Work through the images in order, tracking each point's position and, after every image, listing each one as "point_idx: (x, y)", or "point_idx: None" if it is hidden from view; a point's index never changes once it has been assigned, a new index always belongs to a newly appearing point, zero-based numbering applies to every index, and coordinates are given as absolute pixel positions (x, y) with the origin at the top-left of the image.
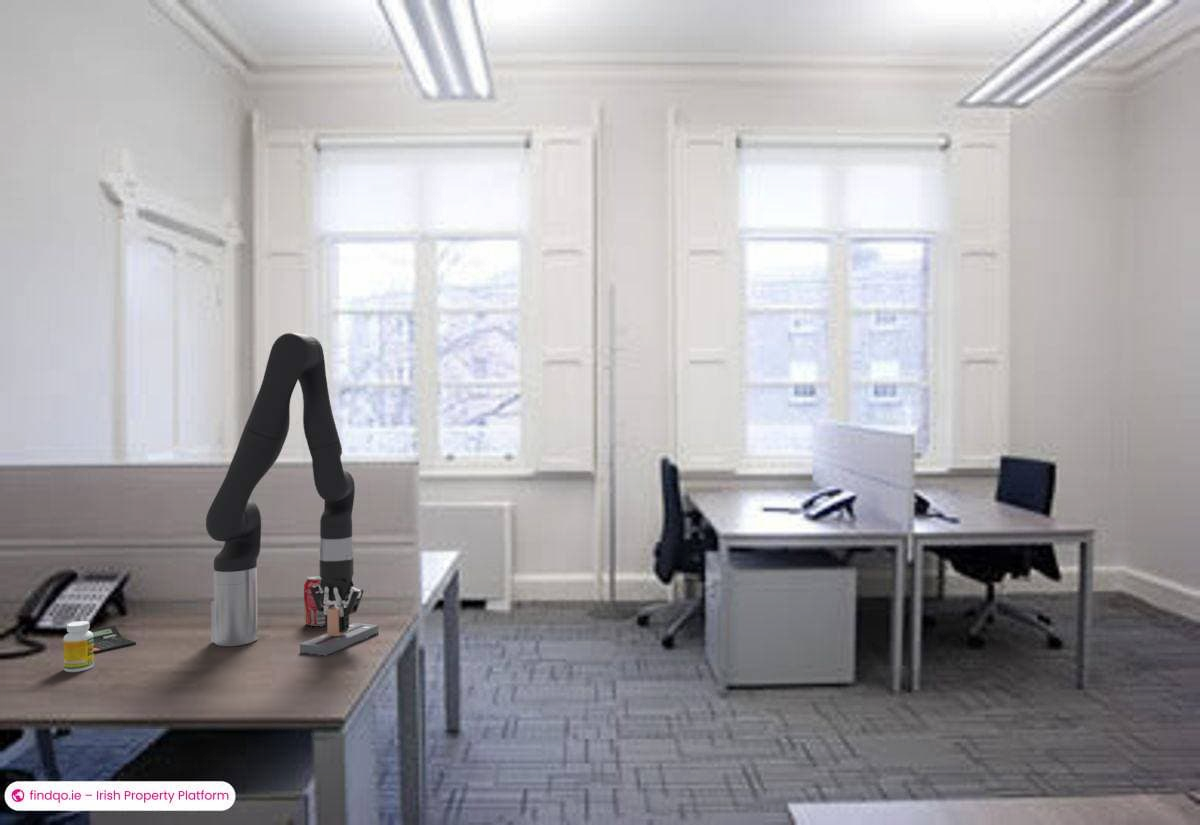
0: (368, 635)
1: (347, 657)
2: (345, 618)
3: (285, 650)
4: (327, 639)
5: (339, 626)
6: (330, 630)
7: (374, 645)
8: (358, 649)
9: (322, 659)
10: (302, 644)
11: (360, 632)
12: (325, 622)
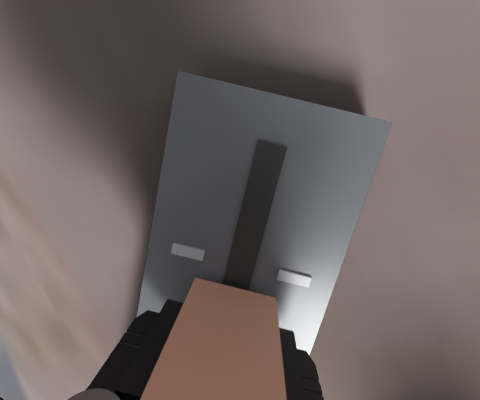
0: None
1: (66, 82)
2: (90, 386)
3: (476, 163)
4: (244, 232)
5: (172, 326)
6: (251, 310)
7: (49, 286)
8: (87, 221)
9: (181, 23)
10: (370, 117)
11: None
12: (317, 388)
